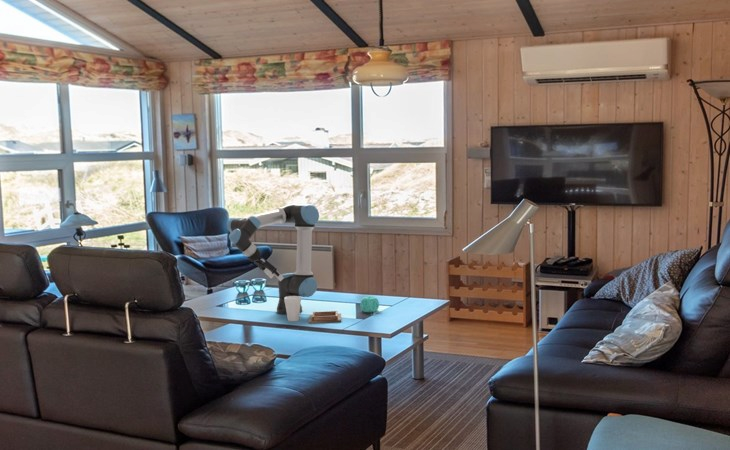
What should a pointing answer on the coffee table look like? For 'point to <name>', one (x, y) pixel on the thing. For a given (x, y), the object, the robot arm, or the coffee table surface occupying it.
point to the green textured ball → (369, 304)
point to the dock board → (325, 317)
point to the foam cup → (292, 307)
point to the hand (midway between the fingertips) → (277, 278)
